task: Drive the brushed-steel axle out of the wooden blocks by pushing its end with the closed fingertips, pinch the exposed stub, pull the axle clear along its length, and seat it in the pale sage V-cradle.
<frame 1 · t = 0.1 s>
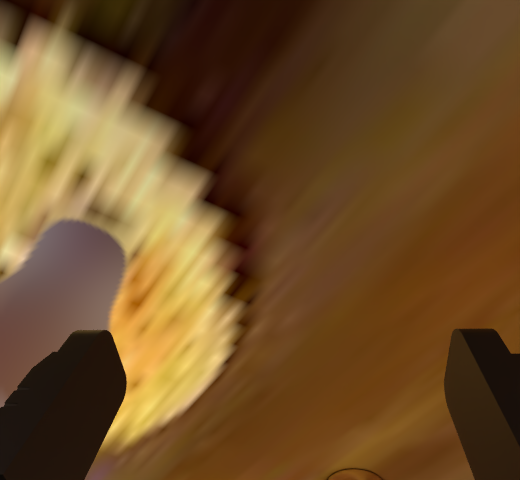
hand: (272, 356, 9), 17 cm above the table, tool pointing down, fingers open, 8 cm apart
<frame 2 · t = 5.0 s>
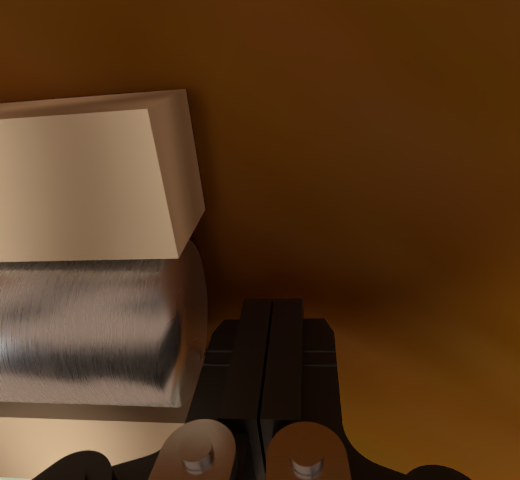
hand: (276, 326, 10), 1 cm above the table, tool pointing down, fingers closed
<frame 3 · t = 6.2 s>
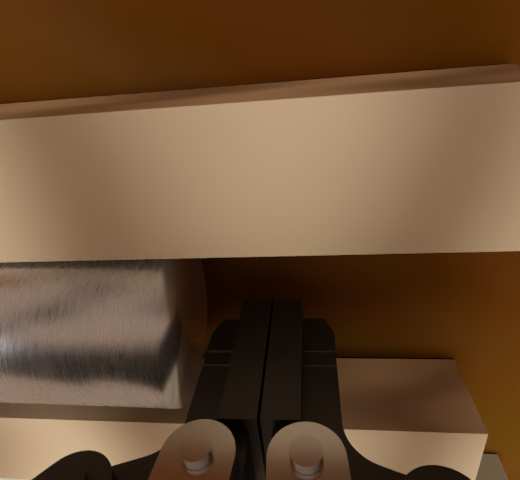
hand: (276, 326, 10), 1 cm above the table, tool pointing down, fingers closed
wooden blocks: (183, 291, 12), on the table
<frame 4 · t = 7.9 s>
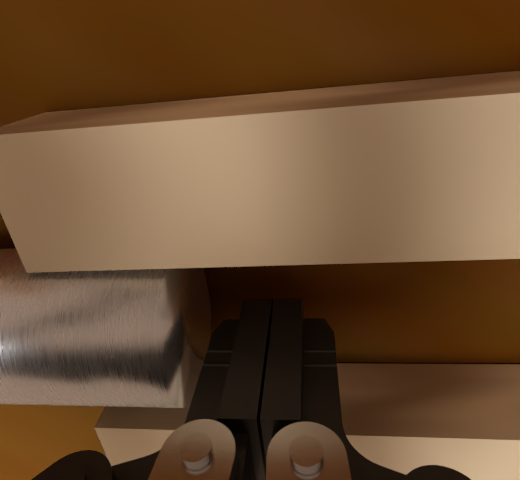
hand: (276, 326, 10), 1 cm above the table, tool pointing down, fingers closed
wooden blocks: (375, 295, 11), on the table
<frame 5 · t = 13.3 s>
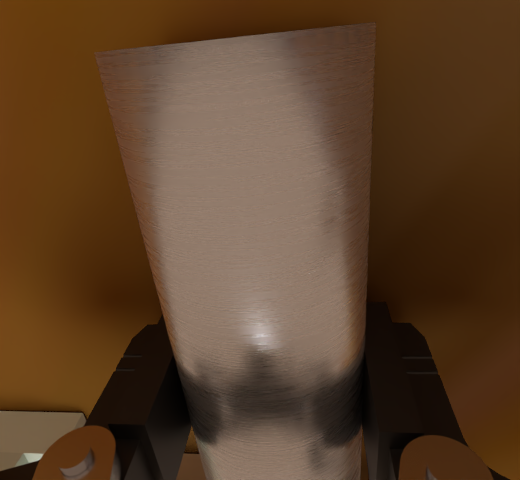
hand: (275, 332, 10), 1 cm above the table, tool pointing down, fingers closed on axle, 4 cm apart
axle: (276, 408, 10), point 2 cm above the table, touching gripper
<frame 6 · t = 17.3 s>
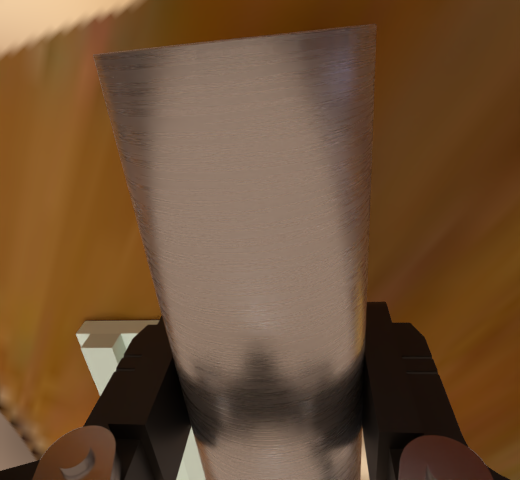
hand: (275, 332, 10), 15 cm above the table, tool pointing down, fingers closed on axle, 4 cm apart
axle: (276, 410, 10), point 16 cm above the table, touching gripper
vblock: (171, 408, 35), on the table
when the fingers open (4 cm above the table, at t = 21.3 s): axle drops 1 cm, resting on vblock.
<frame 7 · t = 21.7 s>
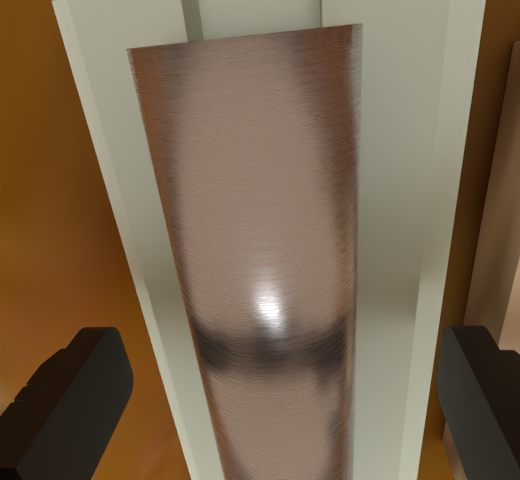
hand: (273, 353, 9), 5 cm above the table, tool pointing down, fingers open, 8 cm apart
axle: (278, 371, 11), point 4 cm above the table, tilted 7°, touching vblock
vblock: (287, 297, 15), on the table
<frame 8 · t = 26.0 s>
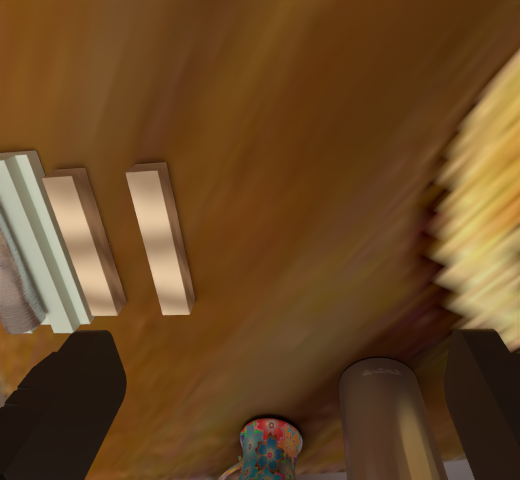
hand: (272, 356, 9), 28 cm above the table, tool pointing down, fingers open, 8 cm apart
mug: (262, 433, 55), on the table
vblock: (27, 243, 43), on the table
wooden blocks: (130, 239, 42), on the table
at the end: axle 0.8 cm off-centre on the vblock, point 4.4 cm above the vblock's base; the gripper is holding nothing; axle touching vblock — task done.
